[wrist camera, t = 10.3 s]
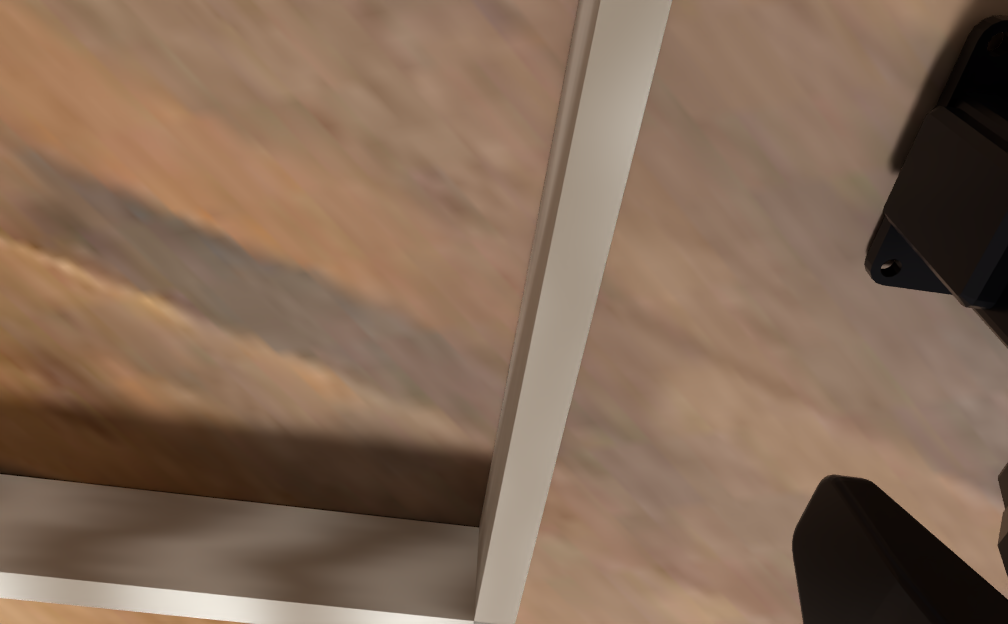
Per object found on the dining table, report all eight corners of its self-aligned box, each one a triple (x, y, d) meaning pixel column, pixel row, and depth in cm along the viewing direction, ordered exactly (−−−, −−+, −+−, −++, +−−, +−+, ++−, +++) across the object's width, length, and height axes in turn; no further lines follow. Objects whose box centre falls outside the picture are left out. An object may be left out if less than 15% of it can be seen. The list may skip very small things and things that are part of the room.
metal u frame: (694, -255, 14) (740, -269, 11) (509, 555, 26) (508, 649, 24) (-841, -536, 12) (-1257, -637, 10) (-275, 469, 25) (-381, 559, 22)
